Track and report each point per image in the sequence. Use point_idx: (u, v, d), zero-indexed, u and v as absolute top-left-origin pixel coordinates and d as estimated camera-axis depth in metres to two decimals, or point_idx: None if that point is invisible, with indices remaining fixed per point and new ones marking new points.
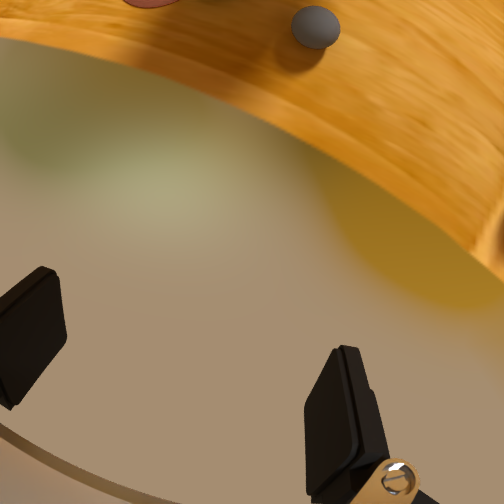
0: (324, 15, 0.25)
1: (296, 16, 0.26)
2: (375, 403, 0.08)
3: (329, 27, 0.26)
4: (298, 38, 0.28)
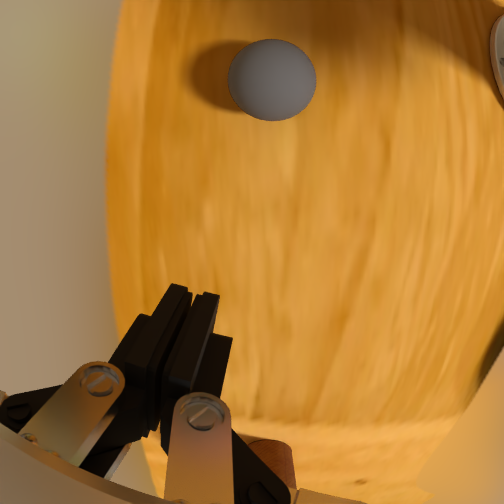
0: (286, 80, 0.15)
1: (271, 40, 0.15)
2: None
3: (266, 96, 0.16)
4: (233, 60, 0.17)
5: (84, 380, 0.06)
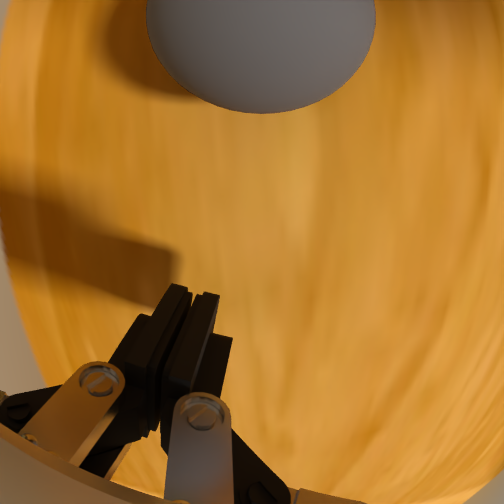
0: None
1: None
2: None
3: (237, 33, 0.04)
4: None
5: (84, 380, 0.06)
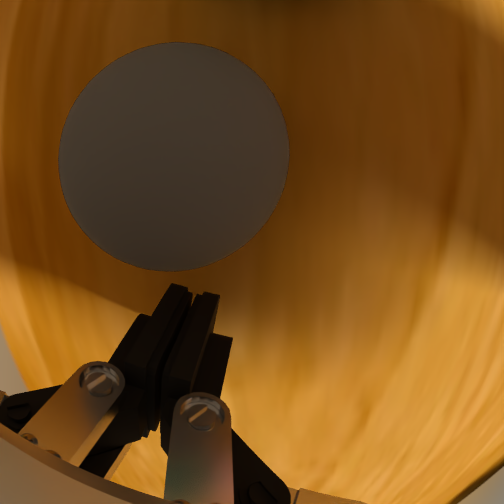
0: None
1: None
2: None
3: None
4: None
5: (84, 380, 0.06)
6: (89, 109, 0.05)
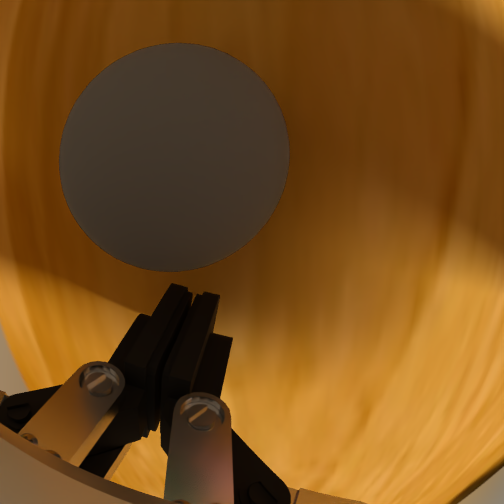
0: None
1: None
2: None
3: None
4: None
5: (84, 380, 0.06)
6: (90, 110, 0.05)
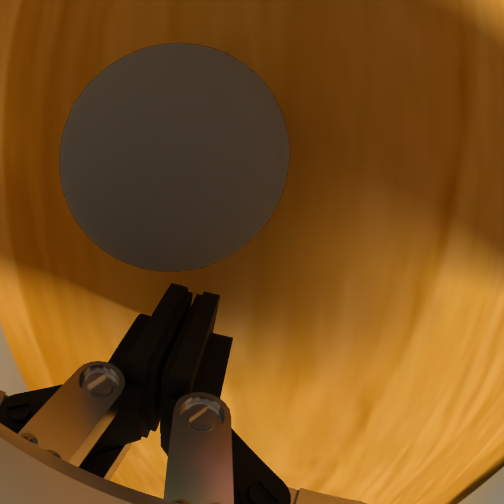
0: None
1: None
2: None
3: None
4: None
5: (84, 380, 0.06)
6: (90, 110, 0.05)
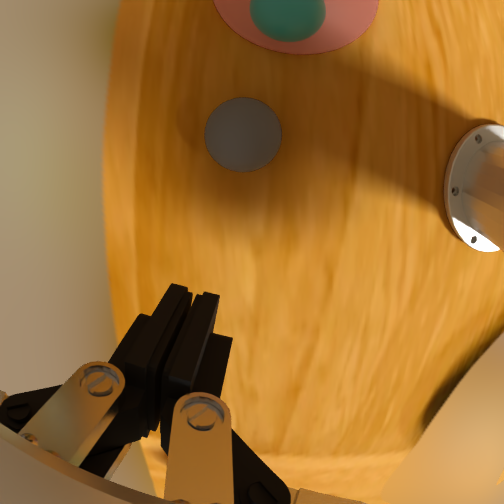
0: None
1: None
2: None
3: None
4: None
5: (84, 380, 0.06)
6: (227, 118, 0.19)
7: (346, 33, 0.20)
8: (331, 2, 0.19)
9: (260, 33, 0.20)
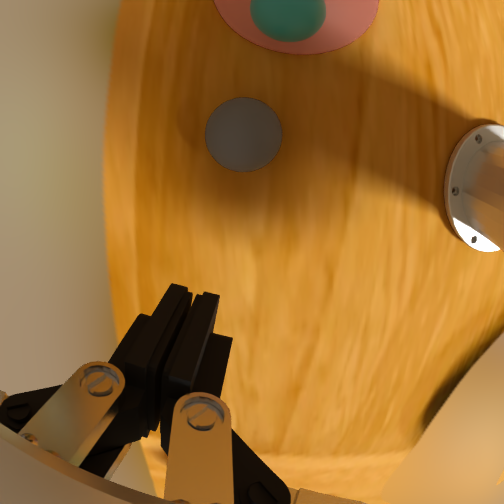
0: None
1: None
2: None
3: None
4: None
5: (84, 380, 0.06)
6: (227, 118, 0.19)
7: (346, 33, 0.20)
8: (331, 2, 0.19)
9: (260, 33, 0.20)
